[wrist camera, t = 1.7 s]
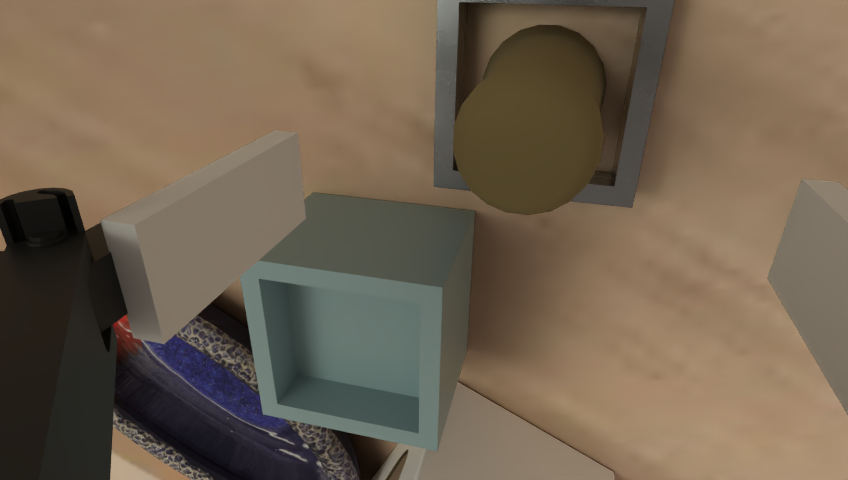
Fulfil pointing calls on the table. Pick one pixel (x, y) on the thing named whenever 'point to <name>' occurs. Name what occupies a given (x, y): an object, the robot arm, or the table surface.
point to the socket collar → (637, 106)
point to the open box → (364, 317)
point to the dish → (215, 409)
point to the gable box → (489, 449)
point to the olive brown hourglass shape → (533, 122)
